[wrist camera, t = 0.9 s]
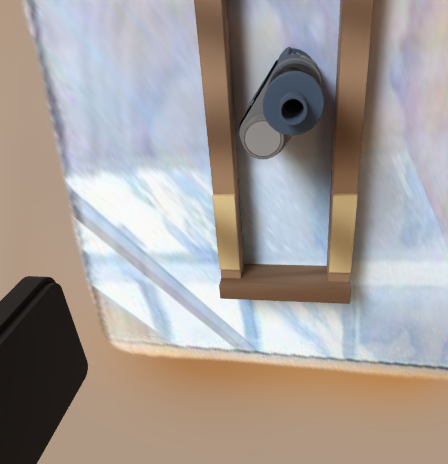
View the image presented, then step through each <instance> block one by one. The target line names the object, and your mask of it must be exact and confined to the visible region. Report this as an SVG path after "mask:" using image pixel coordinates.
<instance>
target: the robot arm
mask: <svg viewBox="0 0 448 464" xmlns="http://www.w3.org/2000/svg"><path fill="white" fill-rule="evenodd" d="M87 370H88V363H87V360H86V357H85V354H84V351H83V348H82V345H81V343H80V339H79V337H78V334H77V331H76V328H75V325H74V322H73V320H72V317H71V314H70V311H69V308H68V305H67V302H66V299H65V296H64V293H63V291H62V288H61V286H60V285H59V284H57V283H56V282H55V281H54V280H53V279H52V278H50V277H32V276H28V277H25V278H23V279H22V280H21V281H20V282H19V283H18V284H17V285H16V286H15V287H14V288H13V289H12V290H11V291H10V292H9V293H8V294H7V295H6V296H5V297H4V298H3V299H2V300H1V301H0V464H37V462H38V460H39V459H40V457H41V455H42V453H43V452H44V450H45V448H46V446H47V445H48V443H49V441H50V439H51V437H52V436H53V434H54V432H55V430H56V429H57V427H58V425H59V423H60V422H61V420H62V418H63V416H64V414H65V413H66V411H67V409H68V407H69V406H70V404H71V402H72V400H73V398H74V397H75V395H76V393H77V392H78V390H79V388H80V386H81V385H82V382H83V381H84V379H85V377H86V375H87Z"/></svg>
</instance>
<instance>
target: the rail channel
mask: <svg viewBox="0 0 448 464" xmlns="http://www.w3.org/2000/svg"><path fill="white" fill-rule="evenodd" d="M373 2H374V0H341V1H340V20H339V39H338V59H337V78H336V97H335V116H334V136H333V155H332V174H331V194H330V213H329V232H328V251H327V266H302V265H262V264H244V258H243V243H242V227H241V212H240V196H239V181H238V166H237V150H236V135H235V119H234V104H233V89H232V73H231V58H230V43H229V27H228V12H227V0H194V4H195V14H196V24H197V34H198V44H199V55H200V65H201V75H202V85H203V95H204V105H205V115H206V126H207V136H208V146H209V156H210V166H211V176H212V186H213V196H212V197H213V207H214V217H215V227H216V237H217V247H218V257H219V267H220V269H221V281H220V285H219V288H220V298H224V299H249V300H273V301H298V302H323V303H347V304H350V295H351V288H350V282H349V281H350V273H351V266H352V254H353V243H354V231H355V220H356V208H357V197H358V195H357V188H358V176H359V165H360V153H361V142H362V130H363V118H364V107H365V95H366V83H367V72H368V60H369V48H370V37H371V25H372V13H373Z"/></svg>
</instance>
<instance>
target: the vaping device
mask: <svg viewBox="0 0 448 464" xmlns="http://www.w3.org/2000/svg"><path fill="white" fill-rule="evenodd" d="M253 100H254V101H253ZM252 101H253V103H252ZM252 101H251V103H252V105H251V103H250V104H249V106H248V108H247V110H246V112H245V114H244V116H243V118H242V120H241V123H240V125H239V137H240V140H241V142H242V144H243V146H244V148H245V150H246V151H247V152H248V154H250V155H251V156H253V157H255V158H258V159H268V158H271V157H273V156H275V155H277V154H278V153H279V152H280V151H281V150H282V149H283V148H284V146H285V145H286V143H287V142H288V140H289V139H290V138H291V136H292V135H299V134H302V133H305V132H307V131H308V130H310V129H311V128H313V127H314V126H315V125H316V124H317V122H318V121H319V119H320V118H321V116H322V113H323V109H324V95H323V91H322V79H321V76H320V73H319V71H318V68H317V64H316V63H315V62H314V61H312V59H311V58H310V57H309V56H308V55H307V54H306V53H305V52H303V51H301V50H298V49H293V48H292V49H291V48H290V47H288V48H286V49H285V50H284V51H283V53H282V54H281V56H280V57H279V59H278V60H276V62H275V64H274V65H273V67H272V68H271V70H270V72H269V73H268V75H267V77H266V78H265V80H264V81H263V83H262V85H261V86H260V88H259V89H258V91H257V93H256V94H255V96H254V97H253V99H252Z"/></svg>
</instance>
